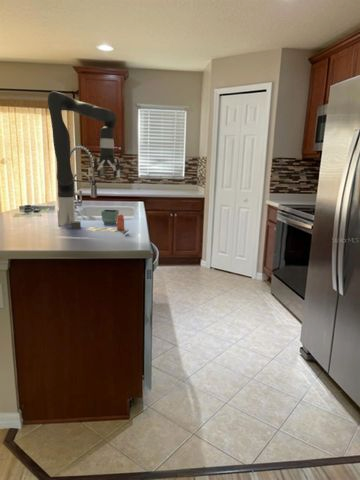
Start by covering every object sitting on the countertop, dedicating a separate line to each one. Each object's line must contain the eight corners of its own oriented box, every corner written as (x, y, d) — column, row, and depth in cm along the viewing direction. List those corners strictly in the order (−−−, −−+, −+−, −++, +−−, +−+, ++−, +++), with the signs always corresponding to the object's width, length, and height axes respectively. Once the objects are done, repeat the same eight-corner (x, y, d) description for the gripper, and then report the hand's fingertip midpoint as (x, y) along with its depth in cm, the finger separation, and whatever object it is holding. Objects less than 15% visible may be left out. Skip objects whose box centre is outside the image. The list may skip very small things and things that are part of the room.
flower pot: (119, 224, 221) (119, 209, 219) (115, 226, 213) (115, 211, 211) (105, 223, 222) (105, 209, 220) (101, 226, 214) (100, 211, 212)
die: (71, 231, 196) (70, 222, 195) (71, 229, 201) (71, 220, 200) (80, 231, 198) (80, 222, 196) (80, 229, 202) (80, 220, 201)
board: (84, 232, 194) (84, 230, 194) (90, 229, 204) (90, 227, 203) (124, 234, 192) (124, 232, 192) (128, 230, 202) (128, 228, 201)
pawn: (116, 230, 195) (115, 214, 193) (118, 229, 199) (117, 213, 197) (123, 230, 195) (123, 214, 193) (125, 229, 198) (124, 213, 196)
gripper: (92, 146, 190) (92, 177, 194) (117, 147, 189) (117, 178, 193) (96, 147, 198) (97, 176, 201) (121, 148, 196) (121, 177, 200)
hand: (107, 177), depth 197 cm, fingers open, 8 cm apart
